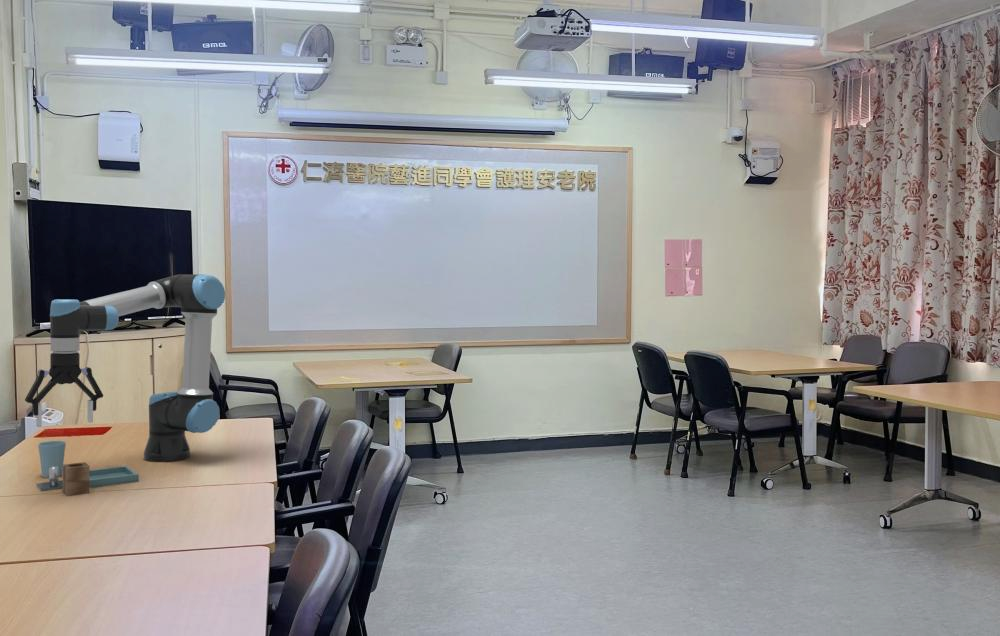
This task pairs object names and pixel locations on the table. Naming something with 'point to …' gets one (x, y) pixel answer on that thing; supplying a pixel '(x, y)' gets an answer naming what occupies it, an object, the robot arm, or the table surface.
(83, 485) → the bored block
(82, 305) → the robot arm
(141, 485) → the table surface
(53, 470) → the knob mounting plate
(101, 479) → the tray
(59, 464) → the cup
